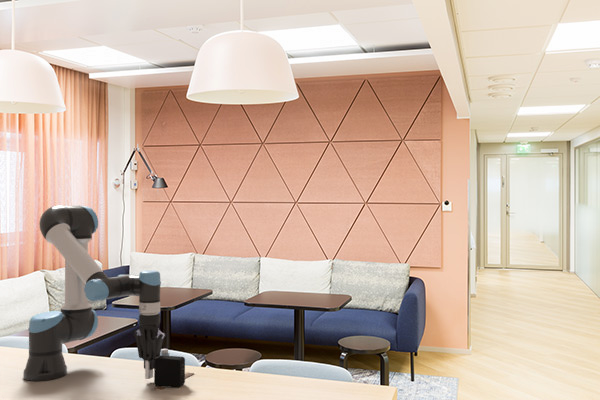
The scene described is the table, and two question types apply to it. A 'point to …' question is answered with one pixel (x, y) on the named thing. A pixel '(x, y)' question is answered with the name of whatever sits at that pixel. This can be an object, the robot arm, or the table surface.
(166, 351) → the marker peg
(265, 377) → the table surface
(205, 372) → the table surface
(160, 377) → the electronic device
